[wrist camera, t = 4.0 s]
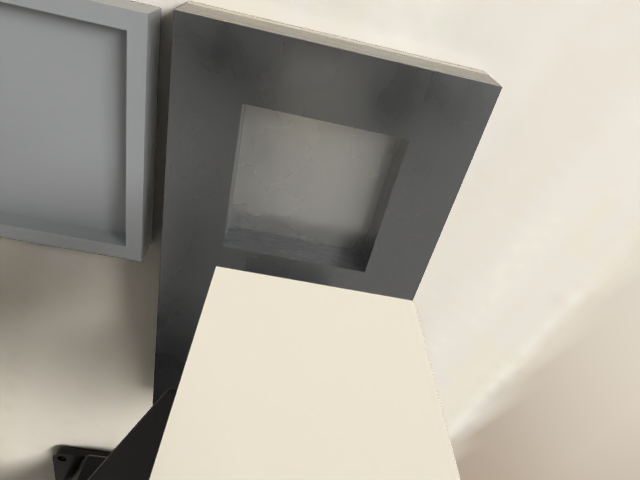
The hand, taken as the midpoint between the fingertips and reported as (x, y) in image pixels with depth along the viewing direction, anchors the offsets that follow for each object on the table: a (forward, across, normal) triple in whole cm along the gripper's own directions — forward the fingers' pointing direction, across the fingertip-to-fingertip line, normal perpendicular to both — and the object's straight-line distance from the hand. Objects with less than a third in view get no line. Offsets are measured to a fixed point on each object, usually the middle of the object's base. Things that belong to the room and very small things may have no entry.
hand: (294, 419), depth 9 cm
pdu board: (+11, 0, +4) cm, 12 cm away
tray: (+11, +10, 0) cm, 15 cm away
